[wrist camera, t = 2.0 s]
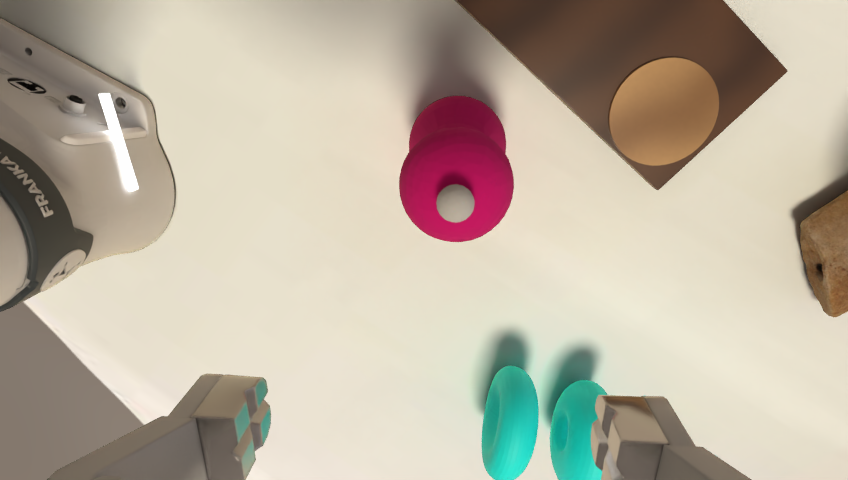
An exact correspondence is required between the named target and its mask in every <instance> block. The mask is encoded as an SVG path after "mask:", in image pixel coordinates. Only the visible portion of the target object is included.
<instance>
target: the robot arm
mask: <svg viewBox="0 0 848 480" xmlns="http://www.w3.org/2000/svg"><path fill="white" fill-rule="evenodd" d="M122 98H123V99H124V100H125V102H126V106H123V105H122V103H121V99H122ZM174 200H175V192H174V183H173V178H172V174H171V170H170V167H169V165H168V162H167V160H166V158H165V155H164V153H163V151H162V149H161V147H160V145H159V142H158V139H157V135H156V121H155V114H154V109H153V106H152V104H151V102H150V101H149V100H148V99H147V98H146V97H145V96H143V95H142V94H140V93H138V92H136V91H134V90H132V89H131V88H129V87H127V86H125V85H123V84H121V83H120V82H118V81H116V80H114V79H112V78H110V77H108V76H107V75H105V74H103V73H101V72H99V71H97V70H96V69H94V68H92V67H90V66H88V65H86V64H84V63H83V62H81V61H79V60H77V59H75V58H73V57H72V56H70V55H68V54H66V53H64V52H62V51H60V50H59V49H57V48H55V47H53V46H51V45H49V44H47V43H46V42H44V41H42V40H40V39H38V38H36V37H35V36H33V35H31V34H29V33H27V32H25V31H23V30H22V29H20V28H18V27H16V26H14V25H12V24H11V23H9V22H7V21H5V20H3V19H1V18H0V312H1V311H4V310H6V309H9V308H11V307H13V306H15V305H17V304H19V303H21V302H23V301H25V300H27V299H29V298H30V297H32V296H34V295H36V294H38V293H39V292H41V291H42V292H43V291H45V290H47V289H49V288H51V287H53V286H54V285H56V284H58V283H59V282H61V281H62V280H64V279H65V278H67V277H68V276H70V275H71V274H72V273H73V272H75V271H76V270H77V269H78V268H79V267H80V266H83V265H85V264H88V263H91V262H93V261H96V260H99V259H103V258H106V257H109V256H113V255H118V254H125V253H131V252H135V251H138V250H141V249H143V248H145V247H147V246H149V245H150V244H152V243H153V242H154V241H156V240H157V239H158V238H159V237H160V236H161V234H162V233H163V232H164V231H165V229H166V227H167V226H168V224H169V222H170V219H171V216H172V213H173V208H174ZM267 392H268V389H267V383H266V380H265V379H264V378H263V377H250V376H237V375H221V374H204V375H202V376H200V378H199V379H198V380H197V381H196V382H195V384H194V385H193V386H192V387H191V389H190V390H189V391H188V392H187V393H186V395H185V396H184V397H183V398H182V400H181V401H180V402H179V403H178V404H177V406H176V407H175V408H174V409H173V411H172V412H171V413H170V414H169V415H168V417H166V416H161V417H159V418H157V419H155V420H153V421H152V422H150V423H148V424H146V425H144V426H142V427H140V428H138V429H136V430H134V431H132V432H130V433H128V434H126V435H124V436H122V437H120V438H119V439H117V440H115V441H113V442H111V443H109V444H107V445H105V446H103V447H101V448H99V449H97V450H95V451H93V452H91V453H89V454H88V455H86V456H84V457H82V458H80V459H78V460H76V461H74V462H72V463H70V464H68V465H66V466H65V467H62V468H60V469H58V470H57V471H55V472H54V473H53V474H52V475H51V476H50V477H49V478H48V479H47V480H246V478H247V476H248V474H249V472H250V470H251V468H252V466H253V464H254V462H255V460H256V458H255V451H256V450H257V449H258V448H260V447H261V446H263V444H264V442H265V440H266V438H267V436H268V432H269V428H270V424H271V411H270V406H269V405H268V403H267V402H266V401H265V400H264V398H265V396H266V394H267ZM595 411H596V414H597V417H598V419H597V420H596V421H594V422H593V423H592V428H591V450H592V455H593V459H594V462H595V465H596V466H597V467H598V468H599V469H600V470H601V471H602V476H601V480H751V479H750V478H748V477H747V476H745V475H744V474H742V473H741V472H739V471H738V470H736V469H735V468H733V467H732V466H730V465H729V464H727V463H726V462H724V461H723V460H721V459H720V458H718V457H717V456H715V455H714V454H712V453H711V452H709V451H708V450H706V449H705V448H703V447H696V446H695V444H694V443H693V441H692V439H691V438H690V436H689V435H688V433H687V431H686V430H685V428H684V426H683V425H682V423H681V421H680V420H679V418H678V416H677V415H676V413H675V412H674V410H673V408H672V407H671V405H670V403H669V402H668V400H667V399H666V398H664V397H661V396H641V397H636V396H615V395H598V397H597V399H596V403H595Z"/></svg>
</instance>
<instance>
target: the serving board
mask: <svg viewBox="0 0 848 480" xmlns="http://www.w3.org/2000/svg"><path fill="white" fill-rule="evenodd" d="M455 1H456V2H457V3H458V4H459V5H460V6H461V7H462V8H463V9H464V10H465V11H466V12H467V13H469V14H470V15H471V16H472V17H473V18H474V19H475V20H476V21H477V22H478V23H479V24H480V25H481V26H482V27H483V28H484V29H485V30H487V31H488V32H489V33H490V34H491V35H492V36H493V37H494V38H495V39H496V40H497V41H498V42H499V43H500V44H501V45H502V46H504V47H505V48H506V49H507V50H508V51H509V52H510V53H511V54H512V55H513V56H514V57H515V58H516V59H517V60H518V61H519V62H520V63H522V64H523V65H524V66H525V67H526V68H527V69H528V70H529V71H530V72H531V73H532V74H533V75H534V76H535V77H536V78H537V79H538V80H540V81H541V82H542V83H543V84H544V85H545V86H546V87H547V88H548V89H549V90H550V91H551V92H552V93H553V94H554V95H555V96H556V97H558V98H559V99H560V100H561V101H562V102H563V103H564V104H565V105H566V106H567V107H568V108H569V109H570V110H571V111H572V112H573V113H574V114H576V115H577V116H578V117H579V118H580V119H581V120H582V121H583V122H584V123H585V124H586V125H587V126H588V127H589V128H590V129H591V130H592V131H594V132H595V133H596V134H597V135H598V136H599V137H600V138H601V139H602V140H603V141H604V142H605V143H606V144H607V145H608V146H609V147H610V148H612V149H613V150H614V151H615V152H616V153H617V154H618V155H619V156H620V157H621V158H622V159H623V160H624V161H625V162H626V163H627V164H628V165H630V166H631V167H632V168H633V169H634V170H635V171H636V172H637V173H638V174H639V175H640V176H641V177H642V178H643V179H644V180H645V181H647V182H648V183H649V184H650V185H651V186H652V187H654V188H655V189H656V190H659V189H660V188H661V187H662V186H663V185H664V184H666V183H667V182H668V181H669V180H670V179H671V178H672V177H673V176H674V175H675V174H676V173H677V172H679V171H680V170H681V169H682V168H683V167H684V166H685V165H686V164H687V163H688V162H689V161H691V160H692V159H693V158H694V157H695V156H696V155H697V154H698V153H699V152H700V151H701V150H703V149H704V148H705V147H706V146H707V145H708V144H709V143H710V142H711V141H712V140H713V139H715V138H716V137H717V136H718V135H719V134H720V133H721V132H722V131H723V130H724V129H725V128H726V127H728V126H729V125H730V124H731V123H732V122H733V121H734V120H735V119H736V118H737V117H738V116H740V115H741V114H742V113H743V112H744V111H745V110H746V109H747V108H748V107H749V106H750V105H752V104H753V103H754V102H755V101H756V100H757V99H758V98H759V97H760V96H761V95H762V94H763V93H765V92H766V91H767V90H768V89H769V88H770V87H771V86H772V85H773V84H774V83H775V82H777V81H778V80H779V79H780V78H781V77H782V76H783V75H784V74H785V73H786V72H787V69H786V68H785V67H784V66H783V65H782V64H781V63H780V62H779V61H778V60H777V59H776V57H775V56H774V55H773V54H772V53H771V52H770V51H769V50H768V49H767V48H766V47H765V45H764V44H763V43H762V42H761V41H760V40H759V39H758V38H757V37H756V36H755V35H754V34H753V32H752V31H751V30H750V29H749V28H748V27H747V26H746V25H745V24H744V23H743V22H742V20H741V19H740V18H739V17H738V16H737V15H736V14H735V13H734V12H733V11H732V10H731V8H730V7H729V6H728V5H727V4H726V3H725V2H724V1H723V0H455Z"/></svg>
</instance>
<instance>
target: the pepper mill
mask: <svg viewBox="0 0 848 480" xmlns="http://www.w3.org/2000/svg"><path fill="white" fill-rule="evenodd" d="M505 150H506V139H505V132H504V129H503V126H502V124H501V122H500V120H499V118H498V116H497V115H496V114H495V113H494V111H493V110H492V109H491V108H489V107H488V106H487V105H486V104H484V103H483V102H481V101H479V100H477V99H474V98H471V97H466V96H450V97H445V98H442V99H439V100H437V101H435V102H434V103H432V104H430V105H429V106H428V107H426V108H425V109H424V110H423V111H422V112H421V114H420V115H419V116H418V118H417V119H416V121H415V123H414V125H413V127H412V131H411V134H410V141H409V153H408V155H407V157H406V159H405V160H404V163H403V166H402V169H401V174H400V181H399V189H400V197H401V200H402V204H403V206H404V209H405V211H406V213H407V215H408V216H409V218H410V219H411V220H412V222H413V223H414V224H415V225H416V226H417V227H418V228H419V229H420V230H422V231H423V232H425V233H426V234H427V235H429V236H432V237H434V238H437V239H440V240H444V241H450V242H463V241H469V240H473V239H476V238H478V237H481V236H483V235H484V234H486V233H487V232H489V231H491V230H492V229H493V228H494V227H495V226H496V225H497V224H498V223H499V222H500V221H501V220H502V218H503V217H504V216H505V214H506V212H507V210H508V208H509V206H510V203H511V199H512V195H513V189H514V182H513V173H512V169H511V166H510V163H509V159H508V158H507V156H506V155H505Z"/></svg>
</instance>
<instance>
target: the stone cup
mask: <svg viewBox="0 0 848 480" xmlns="http://www.w3.org/2000/svg"><path fill="white" fill-rule="evenodd" d="M800 229H801V236H800V244H801V250H802V252H803V256H802V257H803V261H804V262H805V264H806V268H807V269H806V271H807V275H808V278H809V282H810V284H811V285H812V287H813V289H814V294H815V296H816V298H817V299H818V301H819V302H820V304H821V306H822V308H823V311H824V312H825V313H826V314H828V315H829V316H832V317H837V316H840V315H841V314H843V313H845V312H847V311H848V190H847V191H846V192H844V193H843V194H841V195H840V196H838V197H837V198H835V199H834V200H832V201H831V202H829V203H828V204H826V205H825V206H823V207H822V208H820V209H819V210H817V211H815V212H814V213H812V214H811V215H810V216H808V217H807V218H806V219H805V220H803V221H802V222H801V224H800Z"/></svg>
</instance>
